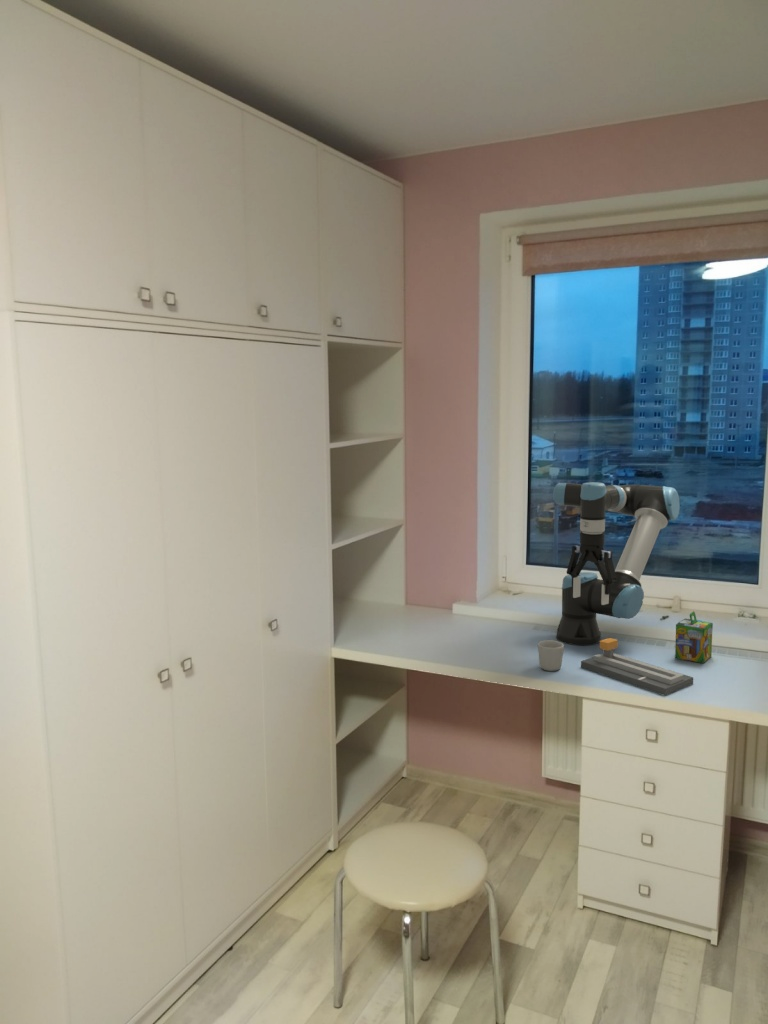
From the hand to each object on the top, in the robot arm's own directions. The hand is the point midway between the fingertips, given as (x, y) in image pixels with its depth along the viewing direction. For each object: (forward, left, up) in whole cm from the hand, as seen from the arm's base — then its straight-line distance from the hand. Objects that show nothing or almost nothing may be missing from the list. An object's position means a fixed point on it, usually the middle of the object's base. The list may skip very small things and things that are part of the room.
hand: (590, 600), depth 252 cm
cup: (-4, -14, -20) cm, 25 cm away
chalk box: (+19, +28, -20) cm, 40 cm away
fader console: (+17, 0, -20) cm, 26 cm away
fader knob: (+7, 0, -18) cm, 19 cm away
